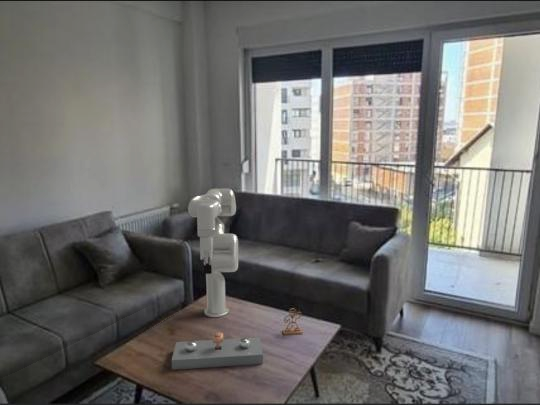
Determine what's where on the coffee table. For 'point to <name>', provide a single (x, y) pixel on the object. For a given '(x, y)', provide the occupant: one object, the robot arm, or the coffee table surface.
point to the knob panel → (217, 354)
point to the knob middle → (217, 339)
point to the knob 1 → (191, 346)
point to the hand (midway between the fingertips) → (207, 273)
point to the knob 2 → (244, 343)
